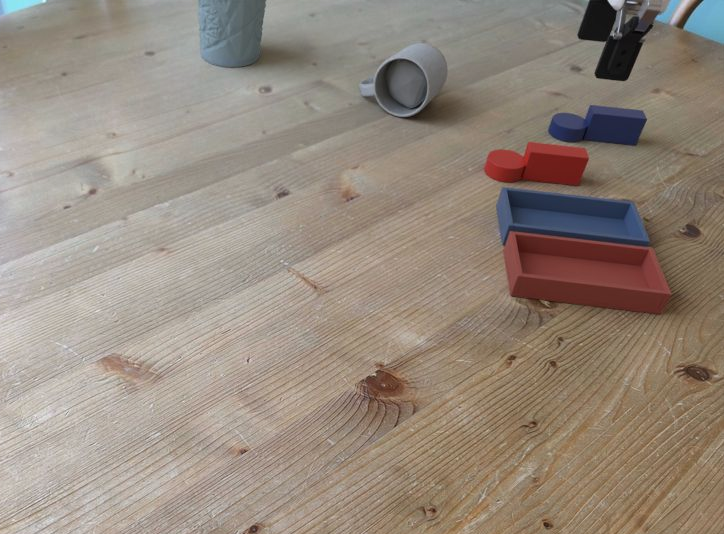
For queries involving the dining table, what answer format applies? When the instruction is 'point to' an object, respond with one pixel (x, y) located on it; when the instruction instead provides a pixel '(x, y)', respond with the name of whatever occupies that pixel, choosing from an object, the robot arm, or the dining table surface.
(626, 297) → the red bin
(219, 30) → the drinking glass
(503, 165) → the red cylinder-cube piece
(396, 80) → the ceramic mug
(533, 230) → the blue bin
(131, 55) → the dining table surface
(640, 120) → the blue cylinder-cube block
